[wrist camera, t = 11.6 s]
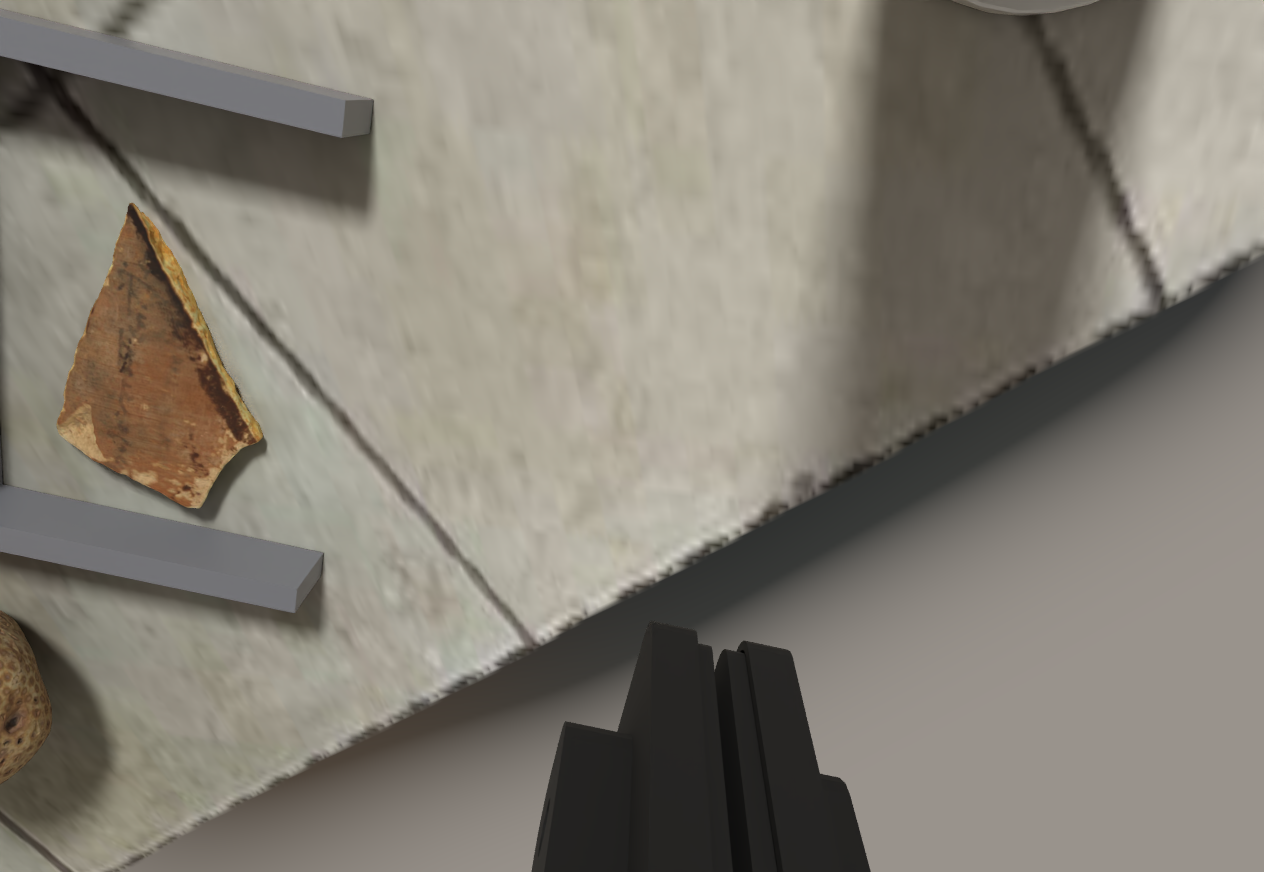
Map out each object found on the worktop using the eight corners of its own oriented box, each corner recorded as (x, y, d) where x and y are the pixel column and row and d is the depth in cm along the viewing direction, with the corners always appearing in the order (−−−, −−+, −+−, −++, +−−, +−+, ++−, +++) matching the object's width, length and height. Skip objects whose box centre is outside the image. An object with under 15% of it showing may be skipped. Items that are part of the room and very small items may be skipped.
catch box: (-55, -5, 31) (-127, -15, 28) (373, 99, 31) (345, 100, 29) (-25, 502, 38) (-79, 535, 35) (321, 575, 39) (294, 613, 36)
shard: (150, 197, 33) (124, 203, 32) (332, 298, 35) (316, 309, 33) (67, 421, 37) (39, 437, 35) (235, 506, 38) (216, 525, 37)
